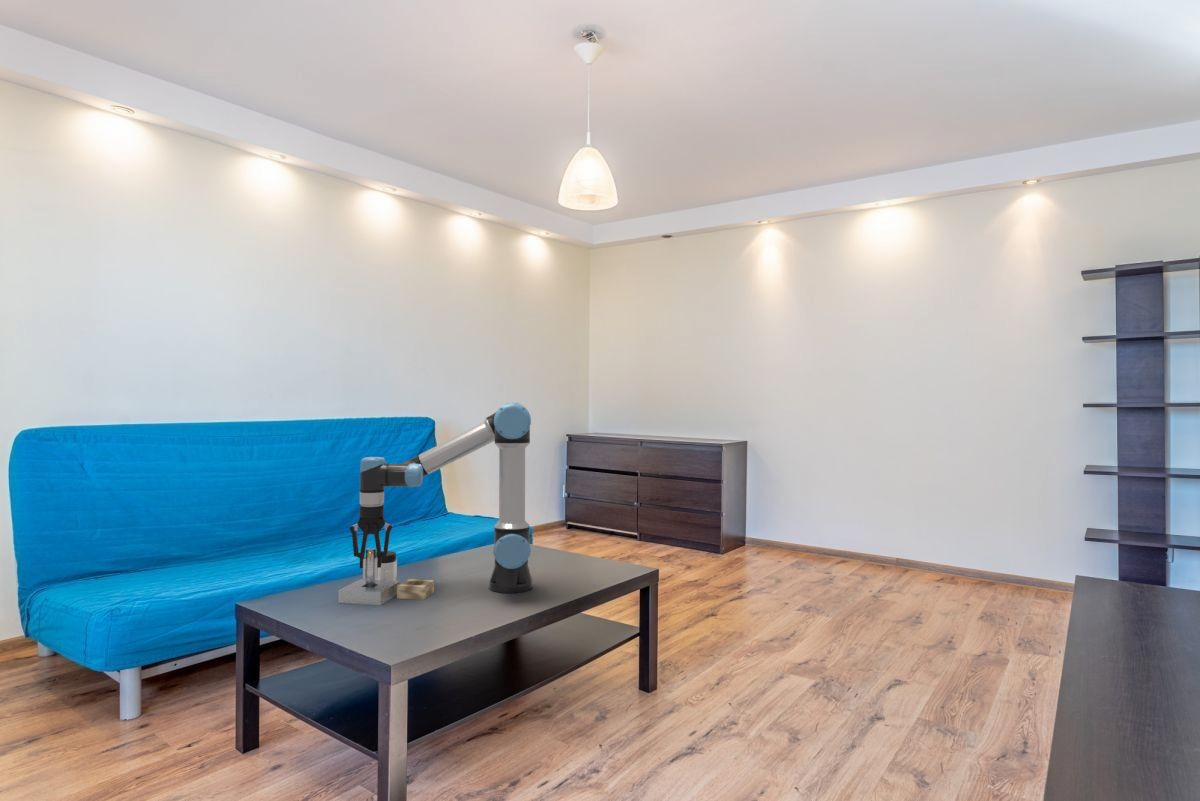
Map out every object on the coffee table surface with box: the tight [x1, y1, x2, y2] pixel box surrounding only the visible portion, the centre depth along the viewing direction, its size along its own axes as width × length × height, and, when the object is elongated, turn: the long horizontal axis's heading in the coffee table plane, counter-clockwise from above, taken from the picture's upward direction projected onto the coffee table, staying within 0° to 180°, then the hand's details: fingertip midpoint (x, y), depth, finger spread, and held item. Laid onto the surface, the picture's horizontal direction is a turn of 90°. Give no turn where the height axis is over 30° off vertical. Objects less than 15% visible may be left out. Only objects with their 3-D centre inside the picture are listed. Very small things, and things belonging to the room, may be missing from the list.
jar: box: [375, 550, 398, 581], centre depth 233 cm, size 9×8×12 cm
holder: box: [396, 578, 435, 601], centre depth 221 cm, size 9×9×5 cm
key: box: [365, 548, 377, 588], centre depth 217 cm, size 7×3×14 cm, turn 12°
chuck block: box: [337, 578, 401, 606], centre depth 217 cm, size 14×14×5 cm
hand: (370, 577), depth 217 cm, fingers closed on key, 3 cm apart
